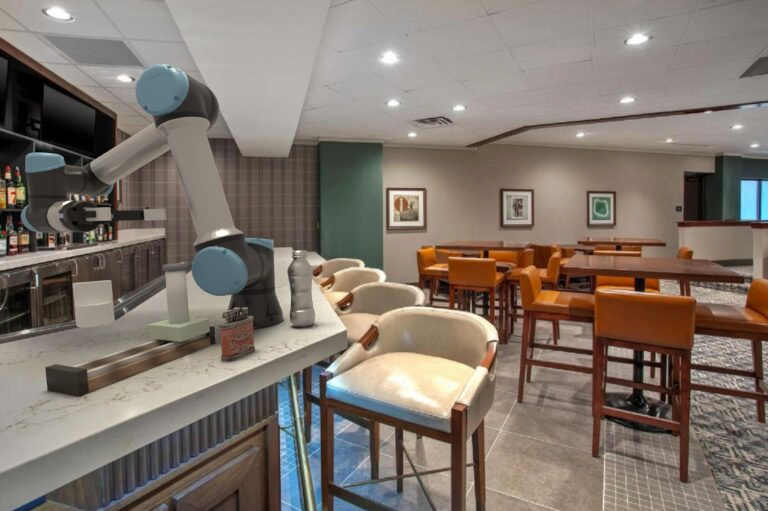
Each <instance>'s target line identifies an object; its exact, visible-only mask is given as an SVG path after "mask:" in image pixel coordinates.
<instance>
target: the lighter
mask: <svg viewBox="0 0 768 511" xmlns="http://www.w3.org/2000/svg"><path fill="white" fill-rule="evenodd" d="M247 314H248V308H247V307H244V308H237V307H235V308H233V310H229V311H227V310H226V311H223V312H222V315H221V316H222V319H226V318H228V321H226V320H224V321H223V322H220V323H219V324H218V328H219V329H220V346H221V348H220V349H221V356H220V361H221V362H222V363H223V362H224V363H229V362H233V361H237V360H240V359H243V358H244V357H247V356H250V355H251V354H253V353H255V352H256V346H255V340H254V338H255V336H254V328H253V321H254V319H253V316H247Z"/></svg>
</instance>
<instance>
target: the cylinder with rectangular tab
mask: <svg viewBox="0 0 768 511" xmlns="http://www.w3.org/2000/svg"><path fill="white" fill-rule="evenodd" d="M72 291H73V303H74V313H75V314H74V315H75V316H74V317H75V326H77V327H76V328H78V327H79V328H81V329H85V328H87V327H90V328H97V327H96V326H98V327H103V326H102V325H104V326H107V325H106V324H108V325H111V324H113V323H115V321H116V320H115V309H114V306H115V305H114V297H113V296H114V295H113V294H114V293H113V284H112V279H106V280H93V281H83V282H73V283H72ZM110 323H111V324H110Z"/></svg>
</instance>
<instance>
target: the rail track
mask: <svg viewBox="0 0 768 511" xmlns="http://www.w3.org/2000/svg"><path fill="white" fill-rule="evenodd" d="M209 328H210V332H208V333H205V334H202V335H199V336H196V337H193V338H190V339H188V340H185V341H182V342H177V341H168V340H158V339H153V340H151V341H148V342H144V343H141V344H139V345H136V346H132V347H128V348H125V349H122V350H120V351H116V352H113V353H110V354H107V355H104V356H100V357H98V358H97V357H96V358H95V359H91V360H88V361H85V362H82V363H79V364H76V365H72V366H71V365H70V366H69V365H64V364H59V363H55V364H51V365H48V366H45V367H44V370H45V378H46V380H45V381H46V390H47V391H50V392H56V393H60V394H64V395H70V396H75V397H81V396H84V395H86V394H89V393H91V392H93V391H96V390H99V389H101V388H104V387H107V386H109V385H112V384H114V383H117V382H119V381H122V380H125V379H127V378H130V377H133V376H136V375H138V374H140V373H143V372H145V371H149V370H150V369H153V368H156V367H159V366H161V365H164V364H166V363H169V362H172V361H174V360H177V359H179V358H181V357H185V356H186V355H190V354H191V353H194V352H197V351H199V350H201V349H202V350H203V349H205V348H208V347H210V346H212V345H215V344H216V329H215V328H216V327H215V325H214V326H213V325H209Z"/></svg>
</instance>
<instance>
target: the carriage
mask: <svg viewBox="0 0 768 511" xmlns="http://www.w3.org/2000/svg"><path fill="white" fill-rule="evenodd" d="M188 269H189V268H188V263H187V262H186V263H185V262H178V263H177V262H176V263H174V262H173V263H166V264H163V265H162V271H163V272H164V273H165V274H164V275H165V287H166V289H165V290H166V301H167V302H166V303H167V316H168V317H167V318H168V319H167V318H166V319H164V320H163V319H162V320H160V321H156V322H153V323H150V324H149V323H148V324H147V330H148V331H147V334H148V339H150V340H152V339H153V340H157V339H158V340H168V341H177V342H182V341H185V340H188V339H190V338H193V337H196V336H199V335H202V334H205V333H208V332H210V328H209V326H210V318H204V317H195V316H194V317H193V316H190V314H189V298H188V297H189V296H188V284H187V280H188V279H187V270H188Z"/></svg>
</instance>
